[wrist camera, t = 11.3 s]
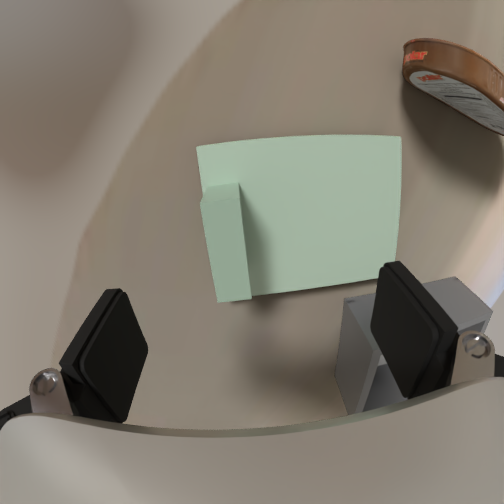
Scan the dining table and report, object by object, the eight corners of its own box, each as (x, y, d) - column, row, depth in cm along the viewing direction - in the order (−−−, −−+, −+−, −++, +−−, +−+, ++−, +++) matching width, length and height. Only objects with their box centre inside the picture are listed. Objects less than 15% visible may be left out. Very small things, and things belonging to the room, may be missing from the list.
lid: (386, 135, 19) (437, 142, 13) (381, 263, 24) (418, 303, 18) (200, 145, 19) (184, 151, 13) (222, 284, 23) (218, 337, 17)
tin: (495, 114, 17) (555, 124, 9) (492, 140, 18) (552, 156, 11) (384, 47, 15) (449, 22, 8) (380, 80, 17) (450, 65, 9)
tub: (455, 276, 25) (493, 311, 18) (431, 349, 29) (456, 385, 23) (344, 298, 24) (373, 350, 18) (334, 375, 29) (351, 423, 23)
